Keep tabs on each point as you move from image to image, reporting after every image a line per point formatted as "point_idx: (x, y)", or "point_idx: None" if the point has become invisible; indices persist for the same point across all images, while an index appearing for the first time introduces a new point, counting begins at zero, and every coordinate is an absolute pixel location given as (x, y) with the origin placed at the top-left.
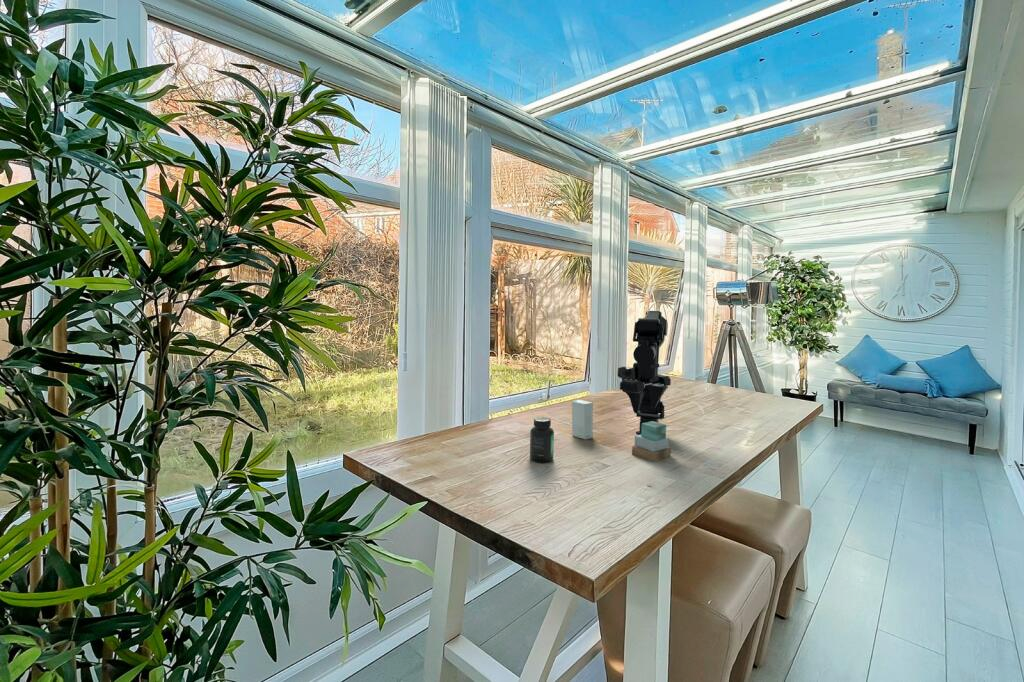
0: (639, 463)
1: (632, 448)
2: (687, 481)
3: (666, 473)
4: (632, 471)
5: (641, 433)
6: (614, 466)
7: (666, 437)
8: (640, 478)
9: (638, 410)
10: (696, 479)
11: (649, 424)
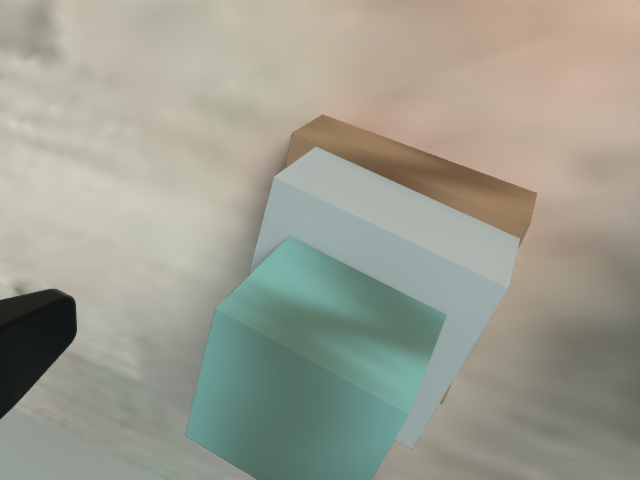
0: (200, 205)
1: (299, 130)
2: (160, 419)
3: (175, 345)
4: (82, 198)
5: (276, 251)
6: (63, 89)
7: (410, 431)
8: (48, 249)
9: (30, 378)
10: (203, 451)
11: (232, 385)
